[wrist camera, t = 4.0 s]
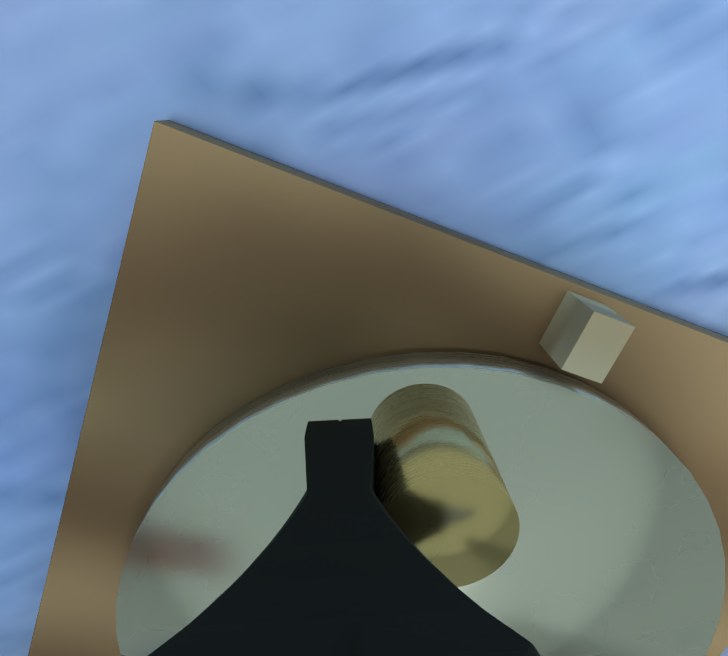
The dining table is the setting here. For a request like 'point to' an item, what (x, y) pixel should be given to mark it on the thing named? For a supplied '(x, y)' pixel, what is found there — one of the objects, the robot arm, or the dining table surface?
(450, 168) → the dining table surface
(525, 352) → the dial base
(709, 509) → the capstan dial
